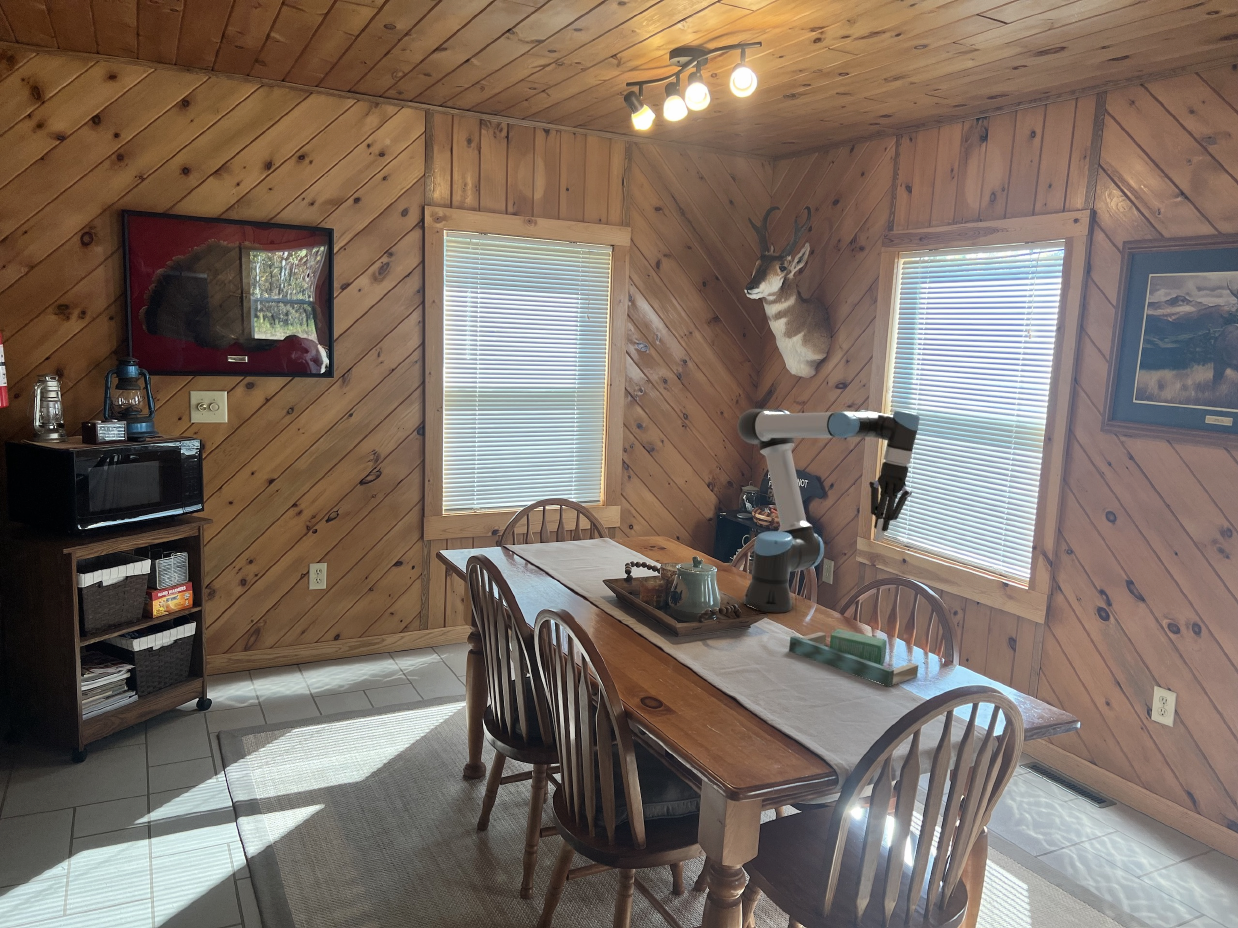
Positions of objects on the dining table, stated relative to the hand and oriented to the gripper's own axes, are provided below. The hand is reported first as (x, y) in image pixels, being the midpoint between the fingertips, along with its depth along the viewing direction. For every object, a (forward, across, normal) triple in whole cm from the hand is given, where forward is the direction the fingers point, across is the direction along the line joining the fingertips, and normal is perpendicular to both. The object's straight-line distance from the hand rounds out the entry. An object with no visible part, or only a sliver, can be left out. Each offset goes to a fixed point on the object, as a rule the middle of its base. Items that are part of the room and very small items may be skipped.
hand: (878, 540), depth 261 cm
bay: (+28, -16, +31) cm, 45 cm away
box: (+28, -17, +30) cm, 44 cm away
